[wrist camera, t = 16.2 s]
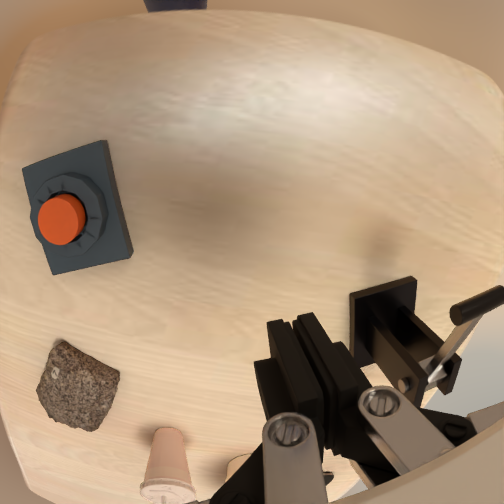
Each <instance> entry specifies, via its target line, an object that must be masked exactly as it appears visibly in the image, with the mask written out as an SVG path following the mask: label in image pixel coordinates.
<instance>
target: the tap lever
mask: <svg viewBox="0 0 504 504" xmlns="http://www.w3.org/2000/svg"><path fill="white" fill-rule="evenodd" d="M502 304H504V287H503V286H501V285H498V286H495V287H493V288H491V289H489V290H487V291H485V292H482V293H480V294H478V295H476V296H473V297H471V298H469V299H466V300H464V301H462V302H459V303H457V304H455V305H453V306H452V307H451V308H450V318H451V321H452V322H453V324H454V325H456V327H455V328H454V330H453V331H452V333H451V334H450V335H449V337H448V338H447V340H446V341H445V342H444V344H443V345H442V347H441V348H440V349H439V351H438V352H437V353H436V355H434V356H431V357H429V358H427V359H425V360H422V361H420V362H418V364H419V365H420V366H421V367H422V368H423V370H424V371H425V372H426V373H427V374H428V375H429V377H428V381H427V385H426V388H425V392H426V391H428V390H430V389H432V388H434V387H436V386H437V385H438V384H439V383H440V382H441V381H442V380H443V379H444V377H445V376H446V375H447V374H446V372H445V370H444V368H443V366H444V365H445V364H446V362H447V361H448V360H449V359H450V358H451V356H452V355H453V354H454V353H455V352H456V350H457V349H458V348H459V347H460V345H461V344H462V343H463V342H464V340H465V339H466V338H467V336H468V335H469V334H470V332H471V331H472V330H473V328H474V327H475V326H476V324H477V323H478V321H479V320H480V319H481V317H482V316H483V314H485V313H487V312H489V311H491V310H493V309H495V308H497V307H498V306H500V305H502Z"/></svg>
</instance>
